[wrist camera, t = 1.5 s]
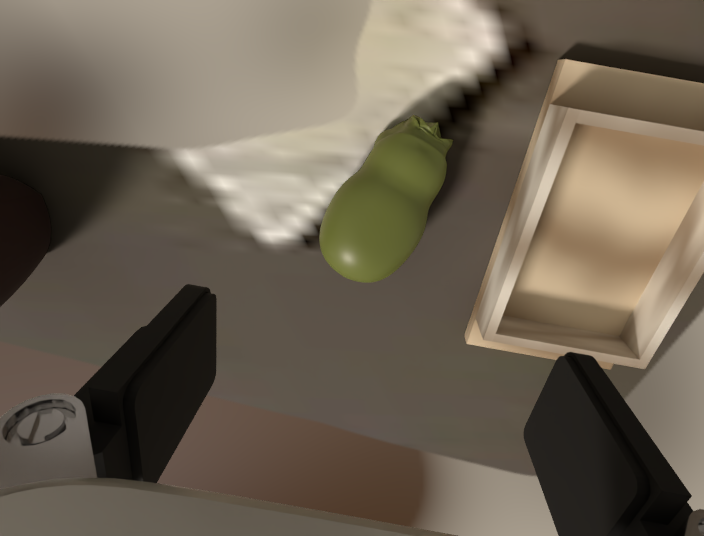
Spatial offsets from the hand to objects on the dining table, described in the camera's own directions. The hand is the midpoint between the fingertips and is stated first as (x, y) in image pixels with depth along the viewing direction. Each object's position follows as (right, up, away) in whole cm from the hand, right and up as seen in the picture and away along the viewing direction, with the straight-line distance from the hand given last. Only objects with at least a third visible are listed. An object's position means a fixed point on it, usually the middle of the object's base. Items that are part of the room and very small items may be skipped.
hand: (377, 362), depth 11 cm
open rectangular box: (+14, +5, +14) cm, 21 cm away
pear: (+2, +7, +15) cm, 17 cm away
